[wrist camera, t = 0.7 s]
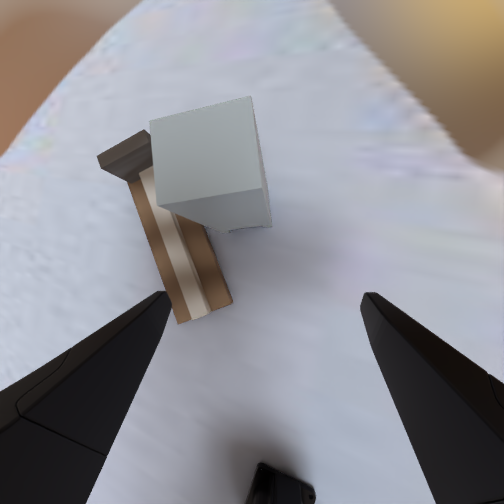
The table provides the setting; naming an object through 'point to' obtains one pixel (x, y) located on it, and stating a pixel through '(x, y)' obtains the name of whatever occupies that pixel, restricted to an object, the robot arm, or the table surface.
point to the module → (212, 166)
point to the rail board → (170, 235)
